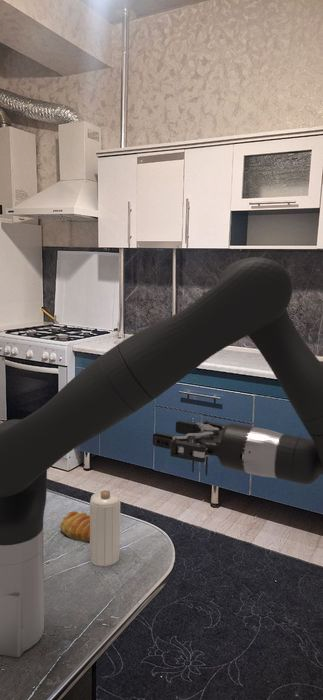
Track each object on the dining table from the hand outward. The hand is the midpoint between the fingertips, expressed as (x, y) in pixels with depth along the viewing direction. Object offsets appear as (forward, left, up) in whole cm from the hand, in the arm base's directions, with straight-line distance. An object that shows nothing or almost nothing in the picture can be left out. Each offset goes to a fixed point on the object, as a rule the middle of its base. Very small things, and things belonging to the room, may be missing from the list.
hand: (165, 432), depth 89 cm
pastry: (+12, +19, -28) cm, 36 cm away
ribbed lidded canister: (+4, +12, -28) cm, 30 cm away
